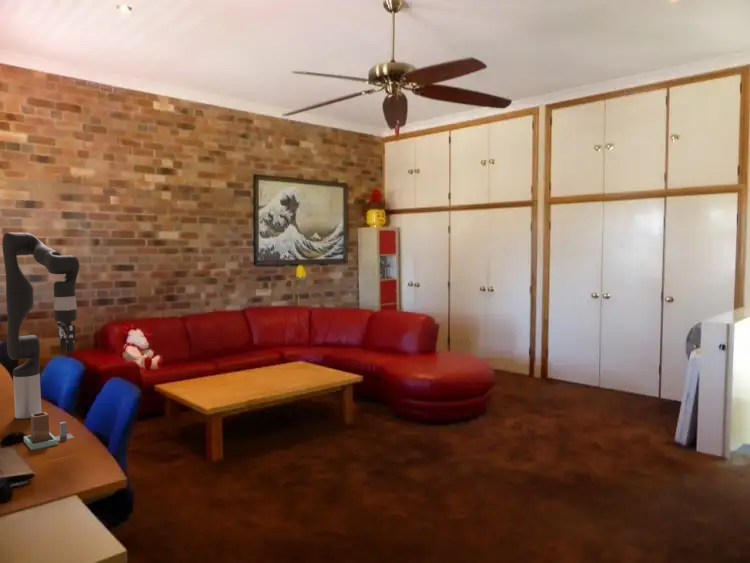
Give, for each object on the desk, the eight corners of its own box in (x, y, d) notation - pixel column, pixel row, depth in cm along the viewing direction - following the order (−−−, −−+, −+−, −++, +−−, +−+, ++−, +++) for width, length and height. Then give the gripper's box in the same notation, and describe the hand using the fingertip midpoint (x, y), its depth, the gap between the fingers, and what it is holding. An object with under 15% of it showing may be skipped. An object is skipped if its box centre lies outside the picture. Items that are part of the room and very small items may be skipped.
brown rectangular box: (31, 442, 196) (30, 414, 196) (46, 439, 199) (45, 411, 199) (34, 445, 193) (33, 417, 192) (49, 442, 196) (48, 414, 195)
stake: (52, 438, 202) (52, 422, 202) (69, 435, 206) (69, 419, 205) (57, 442, 198) (56, 426, 198) (74, 438, 202) (73, 422, 201)
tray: (23, 443, 198) (23, 436, 197) (49, 437, 203) (49, 431, 203) (31, 452, 189) (31, 445, 189) (57, 446, 195) (57, 439, 194)
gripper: (49, 307, 213) (51, 349, 214) (59, 310, 202) (61, 354, 203) (70, 306, 218) (72, 346, 219) (81, 309, 207) (83, 352, 209)
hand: (67, 350), depth 211 cm, fingers open, 8 cm apart
